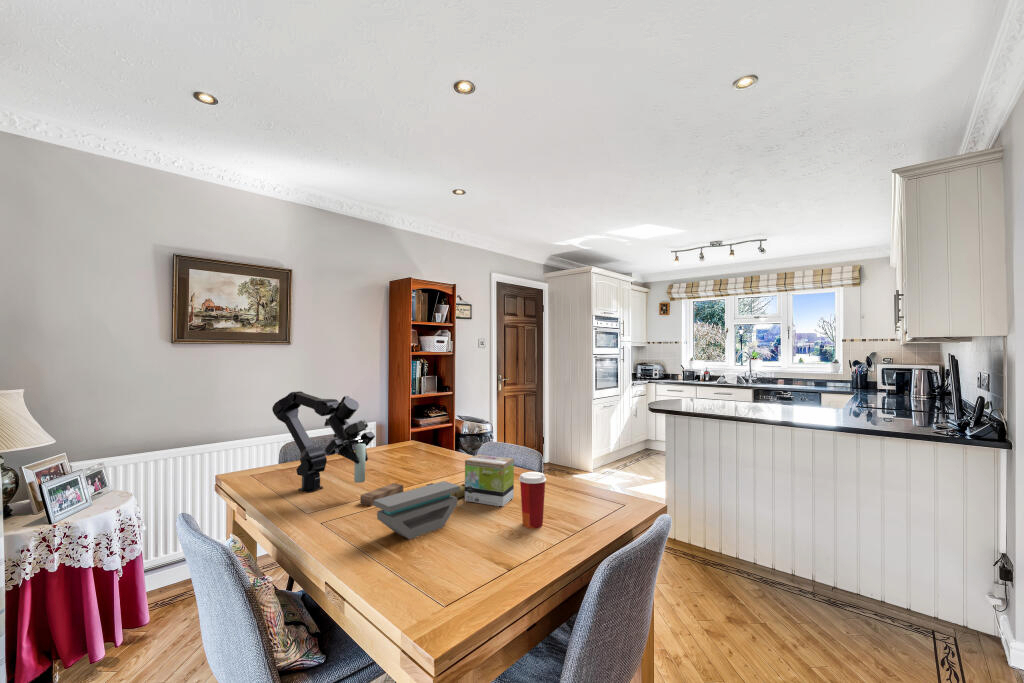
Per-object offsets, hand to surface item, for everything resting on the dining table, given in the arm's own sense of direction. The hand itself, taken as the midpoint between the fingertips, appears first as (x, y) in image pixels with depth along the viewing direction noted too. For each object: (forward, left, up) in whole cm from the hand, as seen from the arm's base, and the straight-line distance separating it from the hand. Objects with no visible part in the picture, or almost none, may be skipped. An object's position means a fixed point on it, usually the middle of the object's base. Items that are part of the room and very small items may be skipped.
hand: (362, 461), depth 158 cm
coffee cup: (+63, +8, -14) cm, 65 cm away
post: (-1, 0, -7) cm, 7 cm away
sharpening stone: (+35, -11, -14) cm, 39 cm away
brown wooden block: (+5, +5, -13) cm, 15 cm away
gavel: (+20, +20, -14) cm, 32 cm away
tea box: (+40, +21, -14) cm, 47 cm away
